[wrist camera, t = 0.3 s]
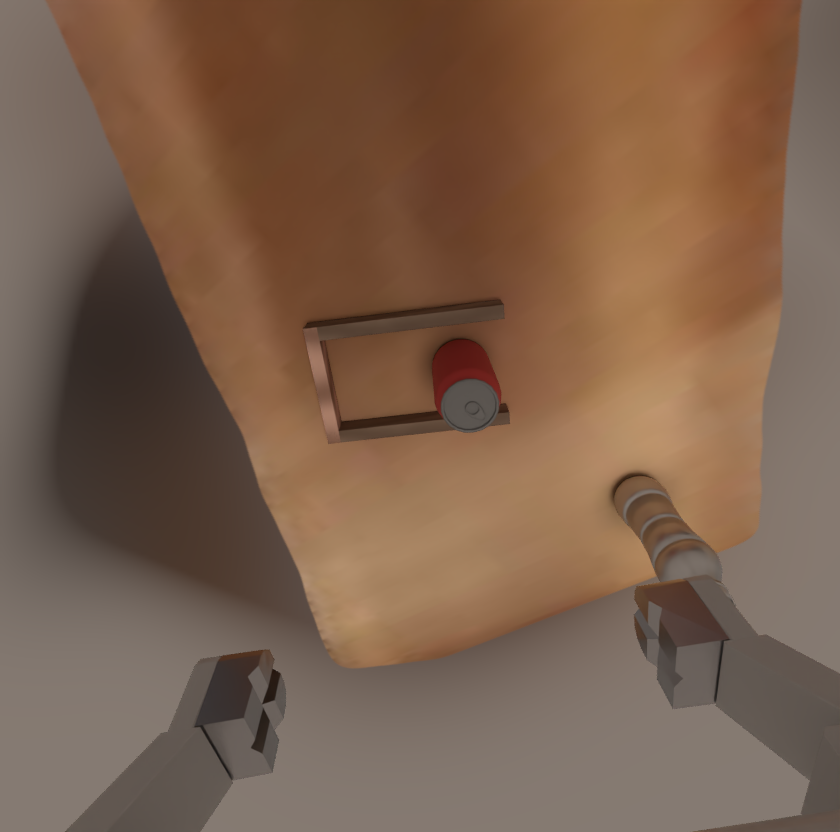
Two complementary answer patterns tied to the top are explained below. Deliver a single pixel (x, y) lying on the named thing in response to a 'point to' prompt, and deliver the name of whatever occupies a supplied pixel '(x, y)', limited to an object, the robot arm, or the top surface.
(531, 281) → the top surface
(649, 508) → the plastic bottle
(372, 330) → the walnut channel
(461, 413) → the beer can
